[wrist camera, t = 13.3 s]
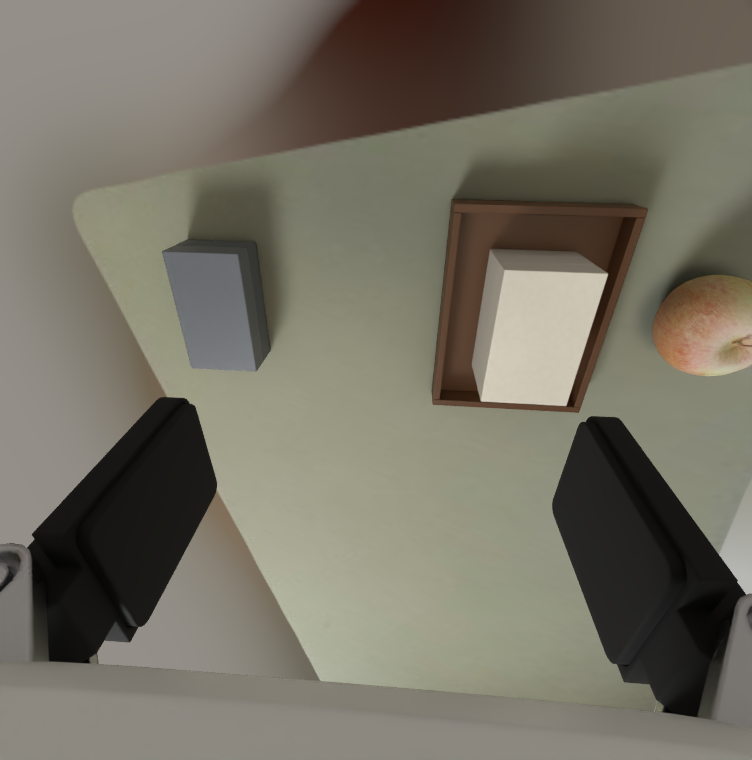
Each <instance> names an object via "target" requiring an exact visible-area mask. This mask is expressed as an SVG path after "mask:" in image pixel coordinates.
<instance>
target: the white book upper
mask: <svg viewBox="0 0 752 760" xmlns="http://www.w3.org/2000/svg"><path fill="white" fill-rule="evenodd" d="M499 262H516V263H544V264H573V265H595V264H594V263H592V262H591V261H589V260H588V259H586V258H571V257H541V256H511V255H494V260H493V266H492V272H491V278H490V284H489V290H488V296H487V302H486V309H485V315H484V321H483V327H482V333H481V339H480V345H479V351H478V357H477V363H476V369H475V375H474V376H475V380H476V384H477V387H478V381H479V375H480V369H481V364H482V358H483V352H484V346H485V340H486V335H487V329H488V323H489V317H490V312H491V306H492V300H493V294H494V288H495V283H496V277H497V271H498V265H499Z"/></svg>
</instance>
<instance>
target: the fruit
mask: <svg viewBox="0 0 752 760" xmlns="http://www.w3.org/2000/svg"><path fill="white" fill-rule="evenodd" d="M653 339H654V342H655V345H656V348H657V350H658V352H659V353H660V355H661V356H662V357H663V358H664V359H665V360H666V361H667V362H668V363H669V364H670V365H672V366H673V367H675V368H677V369H679V370H681V371H684V372H687V373H691V374H694V375H701V376H717V375H725V374H729V373H732V372H735V371H738V370H741V369H744V368H747V367H749V366H751V365H752V281H749V280H746V279H743V278H739V277H734V276H728V275H707V276H703V277H698V278H695V279H692V280H690V281H687V282H685V283H683V284H681V285H680V286H678V287H677V288H676V289H674V290H673V291H672V292H671V293H670V294H669V295H668V296H667V297H666V298H665V300H664V301H663V302H662V304H661V305H660V307H659V309H658V311H657V313H656V315H655V318H654V322H653Z"/></svg>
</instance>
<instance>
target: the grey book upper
mask: <svg viewBox="0 0 752 760" xmlns="http://www.w3.org/2000/svg"><path fill="white" fill-rule="evenodd" d="M162 254H163V258H164V261H165V265H166V269H167V273H168V277H169V281H170V285H171V289H172V293H173V297H174V301H175V305H176V309H177V312H178V316H179V320H180V324H181V328H182V332H183V336H184V340H185V344H186V348H187V352H188V356H189V360H190V364H191V367H192V368H199V369H218V370H237V371H257V370H258V368H259V367H260V365H261V364H262V362H263V361H264V360H263V353H262V346H261V340H260V333H259V326H258V319H257V312H256V305H255V299H254V292H253V285H252V278H251V271H250V265H249V258H248V251H247V248H241V247H212V246H183V245H175V246H173V247H170V248H168V249H166V250H164V251H162Z"/></svg>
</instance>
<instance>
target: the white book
mask: <svg viewBox="0 0 752 760" xmlns="http://www.w3.org/2000/svg"><path fill="white" fill-rule="evenodd" d="M607 276H608V273H607V272H605V271H604V270H602V269H601V268H599V267H598V266H596V265H573V264H544V263H516V262H499V265H498V271H497V277H496V283H495V288H494V294H493V300H492V306H491V312H490V317H489V323H488V329H487V335H486V340H485V346H484V352H483V358H482V364H481V369H480V375H479V381H478V387H477V389H478V393H479V396H480V400H481V401H482V402H500V403H519V404H537V405H556V406H567V402H568V399H569V396H570V393H571V390H572V387H573V383H574V380H575V377H576V374H577V371H578V368H579V365H580V361H581V358H582V355H583V352H584V349H585V346H586V343H587V339H588V336H589V333H590V330H591V327H592V324H593V320H594V317H595V314H596V311H597V308H598V305H599V302H600V298H601V295H602V292H603V289H604V286H605V283H606V280H607Z"/></svg>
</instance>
